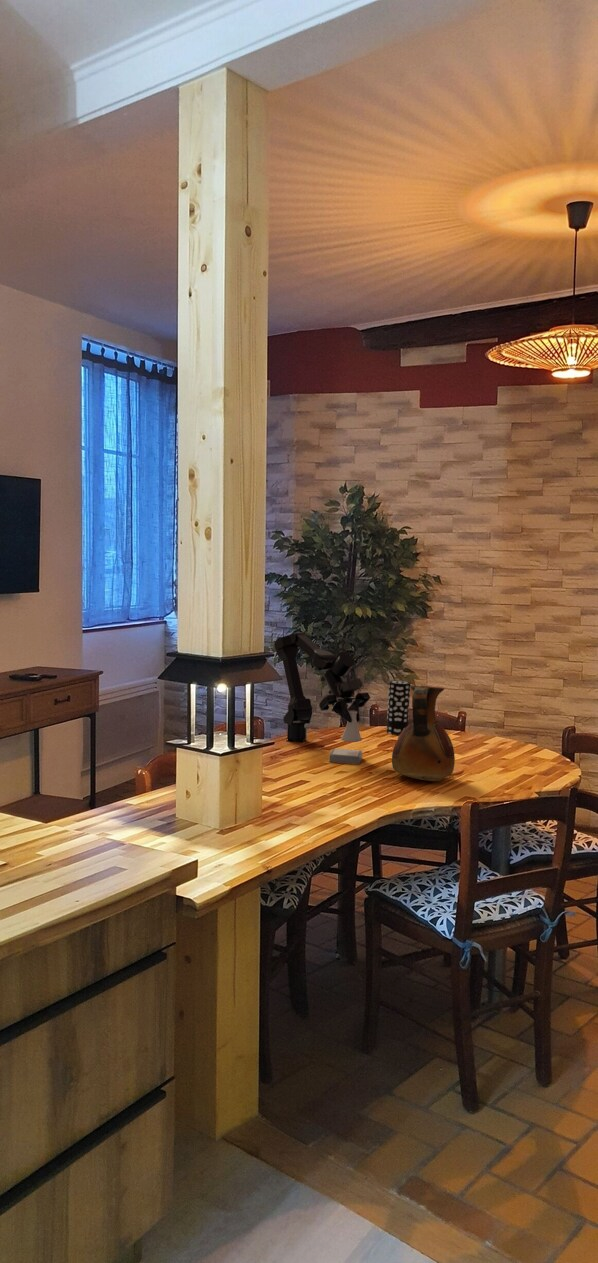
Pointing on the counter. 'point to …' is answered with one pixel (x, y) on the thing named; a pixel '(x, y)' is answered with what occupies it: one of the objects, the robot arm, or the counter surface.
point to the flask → (352, 729)
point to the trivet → (346, 756)
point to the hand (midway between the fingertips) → (354, 721)
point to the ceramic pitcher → (424, 741)
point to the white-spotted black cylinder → (398, 706)
